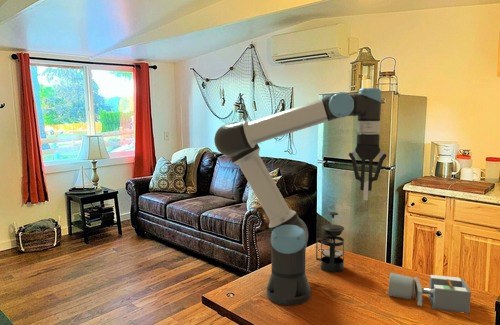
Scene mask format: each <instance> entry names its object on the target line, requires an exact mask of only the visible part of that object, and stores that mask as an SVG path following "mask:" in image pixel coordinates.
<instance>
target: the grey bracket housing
mask: <svg viewBox="0 0 500 325" xmlns="http://www.w3.org/2000/svg"><path fill="white" fill-rule="evenodd" d="M447 279H450V282H451V284H452V286H453V288H450V287H449V286H446V285H447ZM429 289H434V293H433V295H431V294H427V297H428V300H429V303H430V305H431V309H432V310H437V311H445V312H451V311H452V312H453V313H459V312H464V313H463V314H467V313H471V300H472V299H471V297H472V296H471V295H472V292H471V289H470V288H469V286H468V285H467V283H466V281H465V280H464V278H461V277H457V276H456V277H455V276H447V275H435V274H430V275H429Z"/></svg>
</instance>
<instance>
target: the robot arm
mask: <svg viewBox="0 0 500 325" xmlns="http://www.w3.org/2000/svg"><path fill="white" fill-rule="evenodd" d="M382 103H383V102H382V90H381V89H380V88H377V87H367V88H364V87H363V88H359V90H358V93H355V94H349V93H348V92H343V91H339V92H336V93H334V94H331V93H330V94H325V95H324V96H323V97H322V98H320V99H316V100H313V101H311V102H307V103H303V104H302V105H298V106H295V107H292V108H289V109H285V110H283V111H280V112H277V113H273V114H270V115H267V116H264V117H261V118H258V119H255V120H252V121H247V120H242V121H235V122H232V123H226V124H224V125H221V126H220V127H219V128H218V129H217V130H216V132H215V134H214V139H213V140H214V141H213V142H214V146H215V148H216V150H217V151H218V153H220V154H222V155H224V156H227V157H229V159H230V161H231V162H232V164H233V165H236V166H238V167H239V168H240V170H241V172H242V174H243V175H244V177H245V179H246V180H247V182H248V185H249V186H250V188H251V189H252V191H253V193H254V195H255V198H257V200H258V202H259V203H260V205H261V207H262V209H263V211H264V213H265V215H266V216H267V218H268V220H269V222H268V223H269V224H268V228H269V229H270V231H271V234H270V246H271V247H270V248H271V249H270V250H271V252H270V254H271V257H270V258H271V260H270V262H271V274H270V276H269V281H268V284H267V286H266V296H267V299H268V300H270V301H271V302H273V303H275V304H278V305H282V306H299V305H302V304H305V303H306V302H308V301H309V300H310V298H311V287H310V284H309V280H308V278H307V275H306V254H307V253H306V250H307V245H308V240H309V230H308V227H307V226H308V225H306V223H305V222H304V221H303V219H301V218H300V217H299V215H298V214H297V212H296V211H295V210H293V209H290V207H289V205H288V203H287V202H286V200H285V198H284V197H283V195H282V193H281V192H280V190H279V188H278V186H277V184H276V182H275V181H274V178H273V177H272V175H271V174H270V172H269V170H268V168H267V166H266V165H265V163H264V161H263V159H262V158H261V156H260V150H261V147H260V146H259V143H262V142H267V141H270V140H272V139H275V138H280V137H283V136H285V135H288V134H292V133H294V132H298V131H301V130H304V129H308V128H311V127H314V126H317V125H320V124H323V123H326V122H331V121H333V120H337V119H341V118H345V117H357V126H356V127H357V128H356V130H357V135H356V146H355V148H354V150H353V151H351V152H349V153H348V156H349V158H350V159H351V163H352V168H353V172H354V178H355V180H357V181H359V182H360V186H359V187H360V188H359V189H360V191H363V201H368V200H369V192H372V189H373V187H372V186H373V182H375V181H378V178H379V176H380V173H381V169H382V166H383V164H384V161H385V159H386V158H387V153H385V152H383V151H382V150H381V148H380V138H381V135H380V134H379V133H380V131H381V112H382ZM378 155H379V156H378ZM356 156H358V158H359V159H360V160H361V165H360V166H361V168H360V174H359V170H358V165H357V160H356ZM377 156H378V158H379V159H378V163H377V166H376V168H375V173H374V176H373V168H374V167H373V165H374V164H373V163H374V160H375V159H376V158H377ZM367 160H368V179H367V180H365V176H366V175H365V171H366V161H367Z"/></svg>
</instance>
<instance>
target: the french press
mask: <svg viewBox="0 0 500 325" xmlns="http://www.w3.org/2000/svg"><path fill="white" fill-rule="evenodd" d="M327 215H329V216H331V219H332V222H331V224H329V223H328V224H323V225H322V226H321V227H320V228H321V230H322V234H323V235H324V236H322V237H318V238H316V240H315V244H316V245H315V247H316V248H315V249H316V252H315V257H316V258H315V260H316V261H319V262H320V269H321V270H322V271H325V272H326V273H334V274H335V273H341V272H343V271H344V270H345V265H344V264H345V258H344V257H345V239H344V238H343V237H341V236H340V235H341V234H342V232H343V231H344V230H345V227H344V226H343V225H339V224H334V218H335V216H337V215H339V213H338V212H336V211H335V212H334V211H329V212H327ZM324 240H330V242H327V241H324ZM336 240H338V241H341V242H336ZM318 241H320V242H321V243H320V244H321V245H320V246H321V247H320V257H318V246H319V244H318ZM323 245H324V246H327V247H329V248H326V249H323ZM340 246H342V247H343V248H342V250H339V249H336V247H340Z"/></svg>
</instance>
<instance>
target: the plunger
mask: <svg viewBox="0 0 500 325" xmlns="http://www.w3.org/2000/svg"><path fill="white" fill-rule="evenodd" d="M413 279H415V289H414V297H415V300H416V304H417V306H420V307H422V305H423V294H424V295H428V294H431V295H433V293H434V289H430V287H422V285H421V282H420V279H419V277H418V276H414V277H413ZM446 286H449V287H450V288H453V286H452V284H451V282H450V279H447V285H446Z"/></svg>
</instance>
